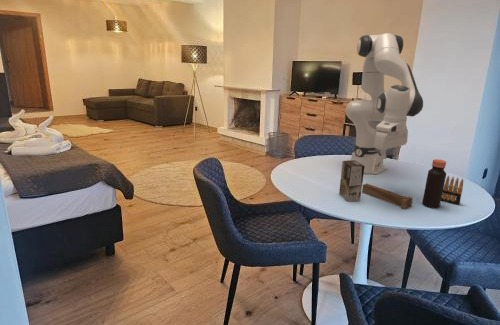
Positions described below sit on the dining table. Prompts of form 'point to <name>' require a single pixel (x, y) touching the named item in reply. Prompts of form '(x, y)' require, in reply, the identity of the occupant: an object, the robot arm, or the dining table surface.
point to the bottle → (434, 184)
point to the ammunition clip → (448, 191)
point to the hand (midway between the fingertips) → (389, 157)
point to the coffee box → (351, 180)
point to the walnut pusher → (387, 196)
